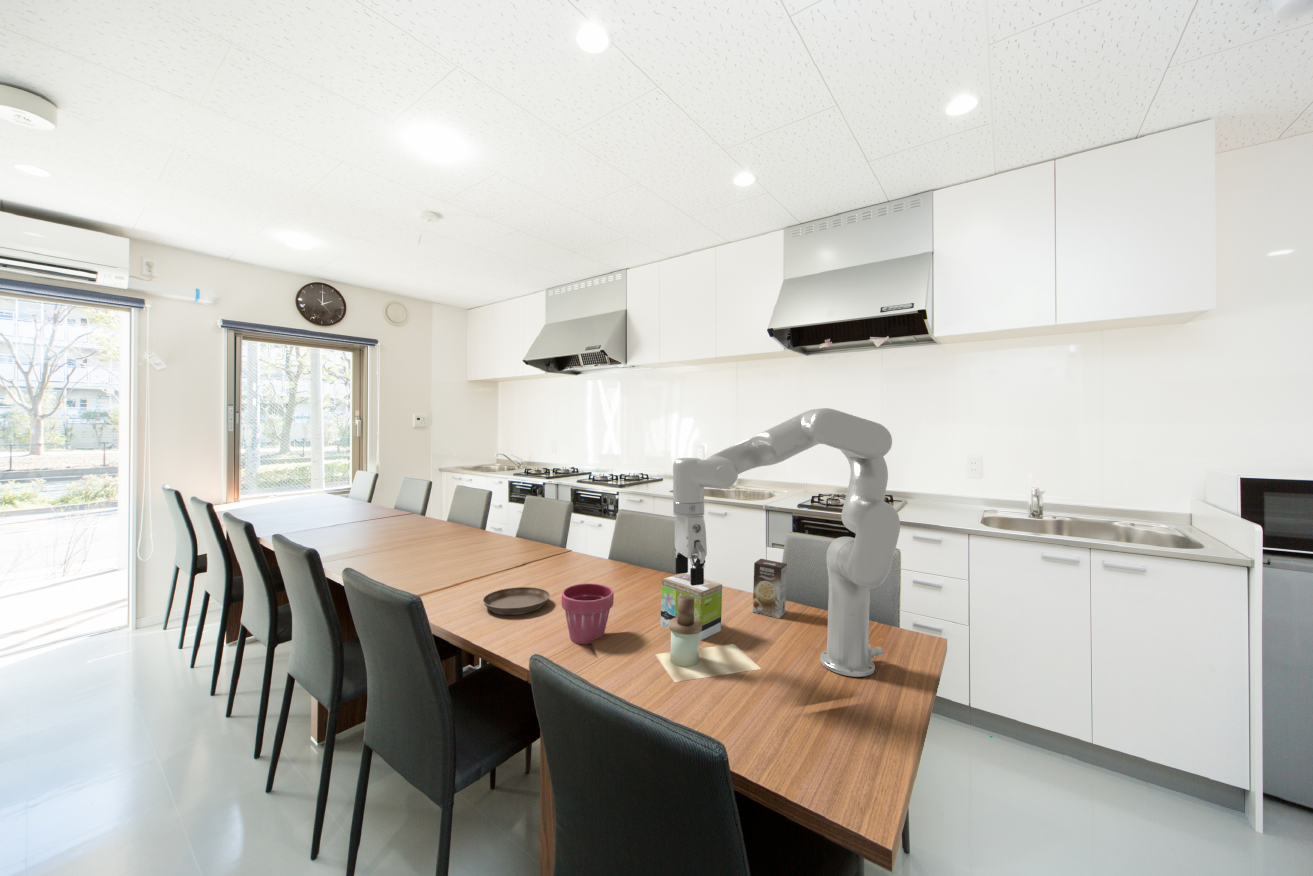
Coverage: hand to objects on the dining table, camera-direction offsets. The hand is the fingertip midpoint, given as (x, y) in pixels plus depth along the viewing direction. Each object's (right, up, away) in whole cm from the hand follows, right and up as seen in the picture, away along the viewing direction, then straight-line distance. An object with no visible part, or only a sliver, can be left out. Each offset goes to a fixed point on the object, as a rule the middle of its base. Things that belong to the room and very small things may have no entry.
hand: (689, 578), depth 118 cm
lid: (-1, -12, 0) cm, 12 cm away
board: (+4, -21, 0) cm, 22 cm away
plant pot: (-27, -21, +15) cm, 37 cm away
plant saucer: (-53, -20, +37) cm, 68 cm away
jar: (-1, -20, 0) cm, 20 cm away
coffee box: (+28, -22, +36) cm, 51 cm away
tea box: (+2, -21, +20) cm, 29 cm away
